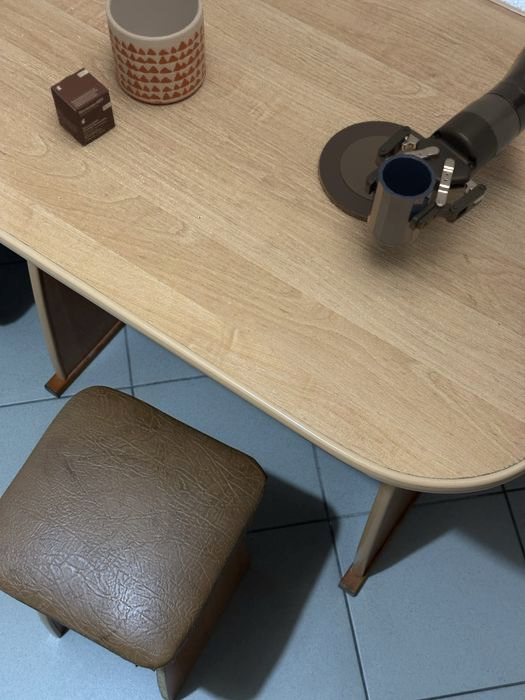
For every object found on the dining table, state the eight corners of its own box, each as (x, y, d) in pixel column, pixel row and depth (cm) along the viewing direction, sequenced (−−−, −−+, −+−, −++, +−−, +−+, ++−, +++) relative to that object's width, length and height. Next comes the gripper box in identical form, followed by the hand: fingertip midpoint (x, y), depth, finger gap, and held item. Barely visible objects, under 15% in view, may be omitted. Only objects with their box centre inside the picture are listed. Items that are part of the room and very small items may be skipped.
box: (83, 147, 121) (74, 111, 115) (58, 123, 123) (48, 86, 117) (116, 126, 123) (110, 89, 117) (91, 103, 125) (83, 65, 119)
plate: (437, 127, 125) (439, 122, 124) (447, 226, 117) (449, 221, 116) (317, 123, 125) (318, 117, 124) (319, 222, 116) (319, 217, 115)
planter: (101, 91, 126) (88, 23, 115) (138, 31, 132) (129, -40, 121) (185, 116, 125) (180, 50, 113) (218, 54, 131) (217, -15, 119)
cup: (417, 205, 110) (433, 154, 101) (421, 248, 107) (437, 200, 98) (366, 203, 110) (377, 153, 101) (368, 246, 107) (379, 198, 98)
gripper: (439, 83, 107) (350, 152, 101) (528, 149, 102) (440, 224, 97) (427, 124, 114) (343, 191, 108) (510, 187, 109) (427, 260, 104)
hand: (389, 206), depth 103 cm, fingers closed on cup, 7 cm apart
